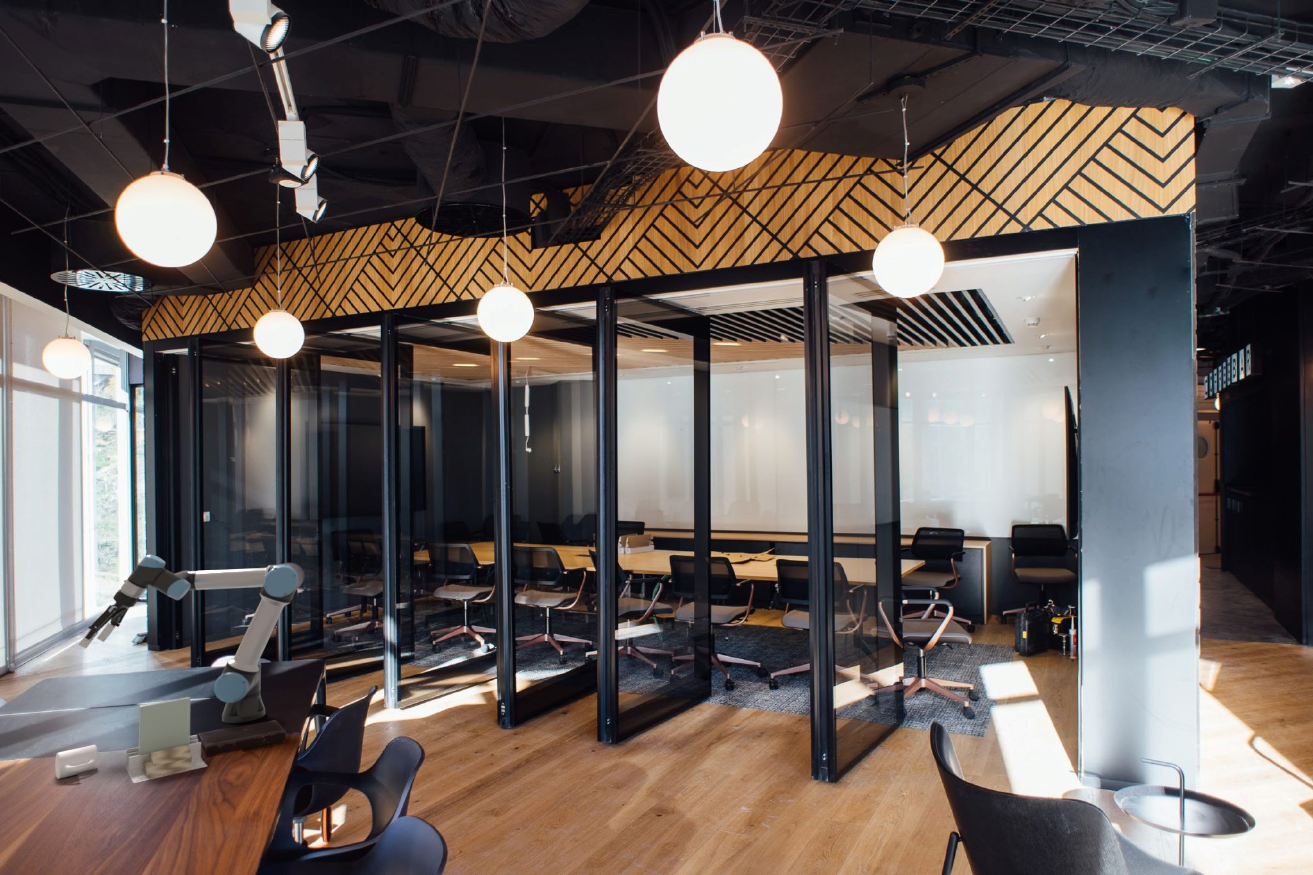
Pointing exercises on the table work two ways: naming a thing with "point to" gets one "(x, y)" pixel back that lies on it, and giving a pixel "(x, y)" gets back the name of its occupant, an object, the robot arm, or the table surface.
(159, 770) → the offcut lower
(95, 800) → the table surface
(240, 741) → the diary
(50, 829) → the table surface
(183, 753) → the offcut upper
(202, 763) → the rack
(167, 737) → the board
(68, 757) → the mug
